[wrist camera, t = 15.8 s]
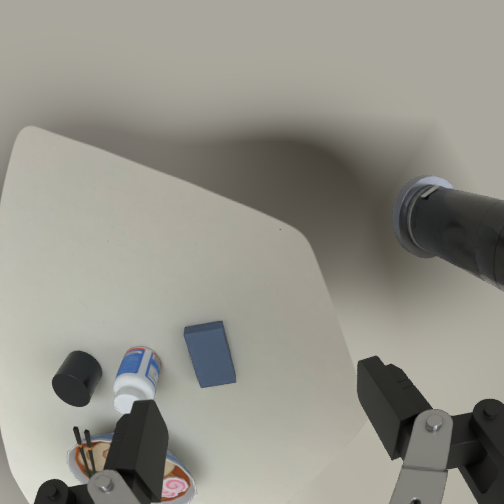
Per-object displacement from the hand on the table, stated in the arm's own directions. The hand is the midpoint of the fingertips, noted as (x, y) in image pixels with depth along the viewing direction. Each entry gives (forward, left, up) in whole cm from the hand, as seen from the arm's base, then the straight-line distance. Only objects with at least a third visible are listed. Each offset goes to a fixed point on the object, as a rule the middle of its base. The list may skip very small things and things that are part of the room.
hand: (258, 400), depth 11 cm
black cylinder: (+18, +24, -28) cm, 41 cm away
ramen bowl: (+10, +42, -28) cm, 52 cm away
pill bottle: (+9, +20, -28) cm, 36 cm away
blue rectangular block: (0, +16, -28) cm, 32 cm away
